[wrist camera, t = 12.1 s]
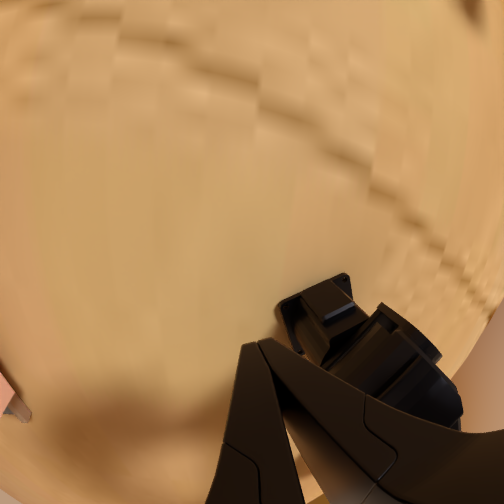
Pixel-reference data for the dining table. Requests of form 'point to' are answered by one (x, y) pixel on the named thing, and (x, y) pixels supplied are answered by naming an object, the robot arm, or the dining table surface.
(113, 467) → the dining table surface
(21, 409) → the mat
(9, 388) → the terracotta block
